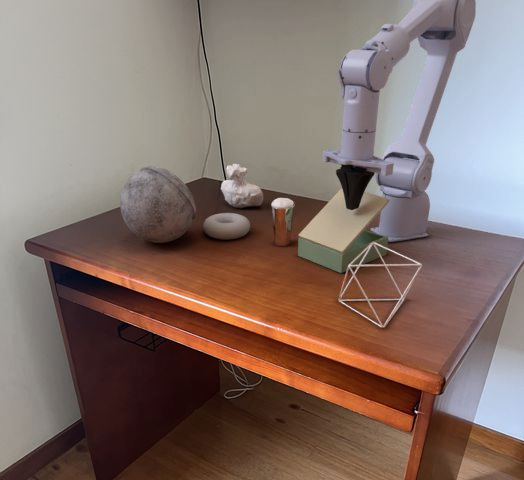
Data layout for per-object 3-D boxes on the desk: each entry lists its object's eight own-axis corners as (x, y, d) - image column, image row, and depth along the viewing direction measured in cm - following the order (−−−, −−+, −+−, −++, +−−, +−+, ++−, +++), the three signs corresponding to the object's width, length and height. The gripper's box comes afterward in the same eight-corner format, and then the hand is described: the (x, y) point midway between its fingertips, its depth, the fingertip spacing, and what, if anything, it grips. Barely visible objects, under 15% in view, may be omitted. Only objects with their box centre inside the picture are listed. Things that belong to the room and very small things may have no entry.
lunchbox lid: (343, 188, 107) (343, 186, 107) (390, 201, 100) (389, 198, 100) (298, 237, 104) (297, 235, 104) (343, 254, 97) (342, 251, 97)
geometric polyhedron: (382, 288, 94) (387, 237, 89) (428, 313, 86) (437, 259, 81) (323, 306, 88) (325, 253, 84) (367, 334, 80) (372, 277, 76)
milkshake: (290, 249, 109) (291, 199, 104) (267, 244, 111) (267, 195, 106) (300, 242, 112) (302, 193, 107) (278, 237, 115) (279, 189, 109)
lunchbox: (343, 239, 114) (344, 222, 112) (386, 254, 106) (388, 237, 104) (297, 255, 106) (298, 238, 104) (341, 273, 99) (342, 254, 97)
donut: (197, 240, 114) (244, 243, 112) (196, 224, 112) (243, 226, 110) (211, 225, 122) (254, 227, 120) (210, 209, 120) (254, 211, 118)
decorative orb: (211, 239, 114) (207, 166, 106) (156, 260, 105) (147, 180, 97) (165, 224, 122) (158, 154, 114) (111, 241, 113) (99, 167, 105)
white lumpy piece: (221, 210, 137) (201, 180, 128) (235, 186, 139) (216, 155, 129) (260, 219, 131) (241, 189, 122) (274, 194, 133) (257, 162, 123)
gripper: (312, 127, 96) (308, 204, 103) (378, 139, 86) (369, 222, 94) (338, 122, 100) (334, 196, 107) (404, 133, 90) (394, 213, 98)
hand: (352, 208), depth 100 cm, fingers closed
